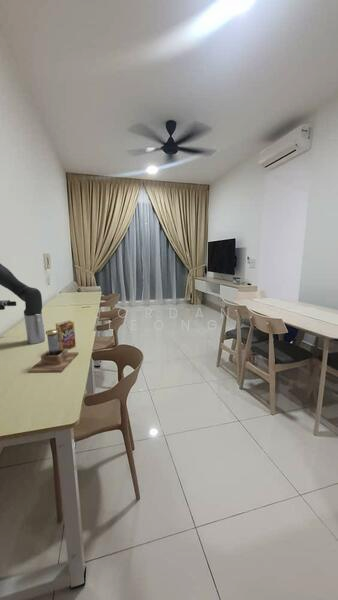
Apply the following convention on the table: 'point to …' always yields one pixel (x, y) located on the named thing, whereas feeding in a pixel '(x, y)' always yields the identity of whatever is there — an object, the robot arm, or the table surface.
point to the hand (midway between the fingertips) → (10, 305)
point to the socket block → (54, 361)
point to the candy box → (66, 334)
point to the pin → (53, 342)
